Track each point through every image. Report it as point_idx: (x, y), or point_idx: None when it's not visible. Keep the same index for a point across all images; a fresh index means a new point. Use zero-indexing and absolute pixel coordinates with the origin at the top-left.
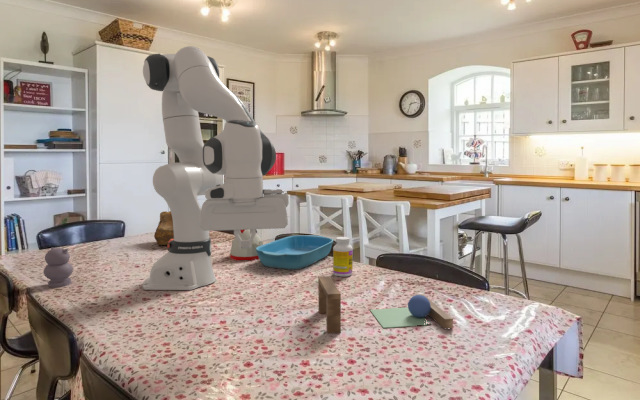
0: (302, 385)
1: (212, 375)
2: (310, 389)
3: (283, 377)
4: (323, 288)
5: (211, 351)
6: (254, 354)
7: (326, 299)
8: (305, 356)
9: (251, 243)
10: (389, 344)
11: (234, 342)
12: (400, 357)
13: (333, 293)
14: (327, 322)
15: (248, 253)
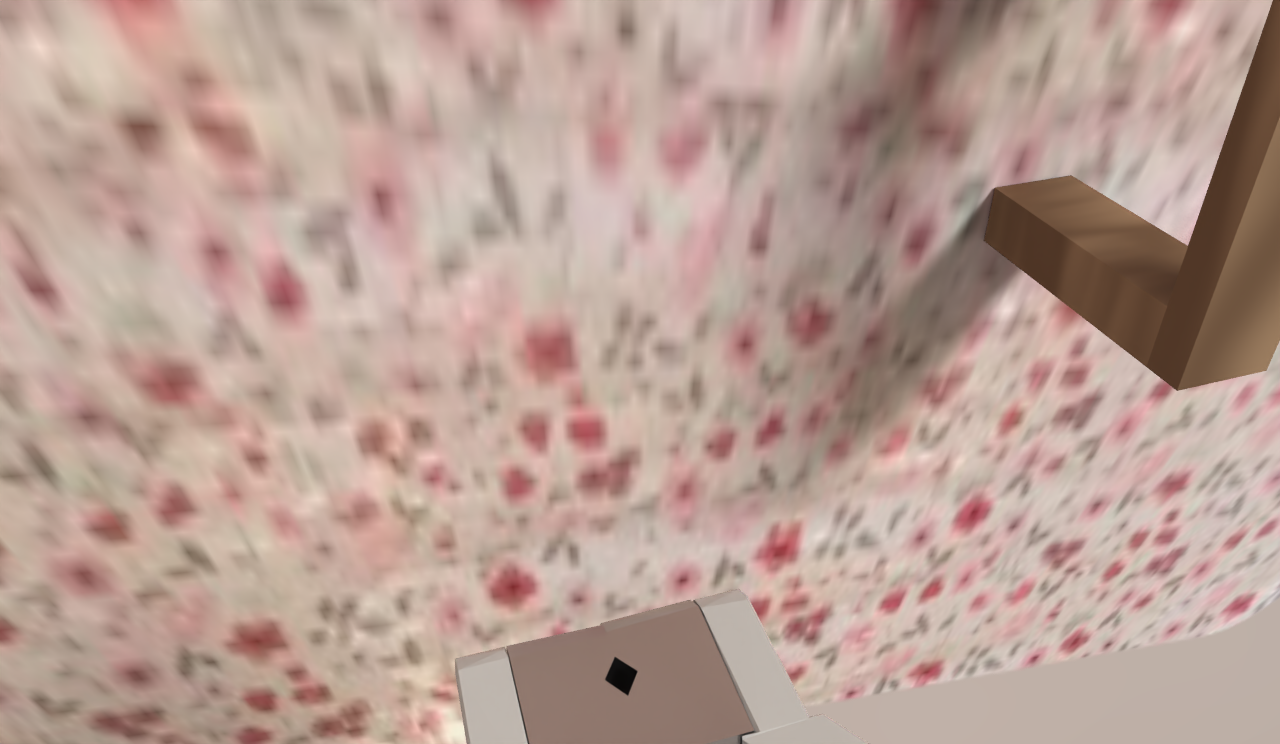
0: None
1: (352, 686)
2: None
3: None
4: (1238, 169)
5: (251, 498)
6: (533, 504)
7: (1148, 300)
8: (793, 496)
9: (767, 639)
10: None
11: (376, 379)
12: (1165, 466)
13: (1223, 369)
14: (1029, 256)
15: None
